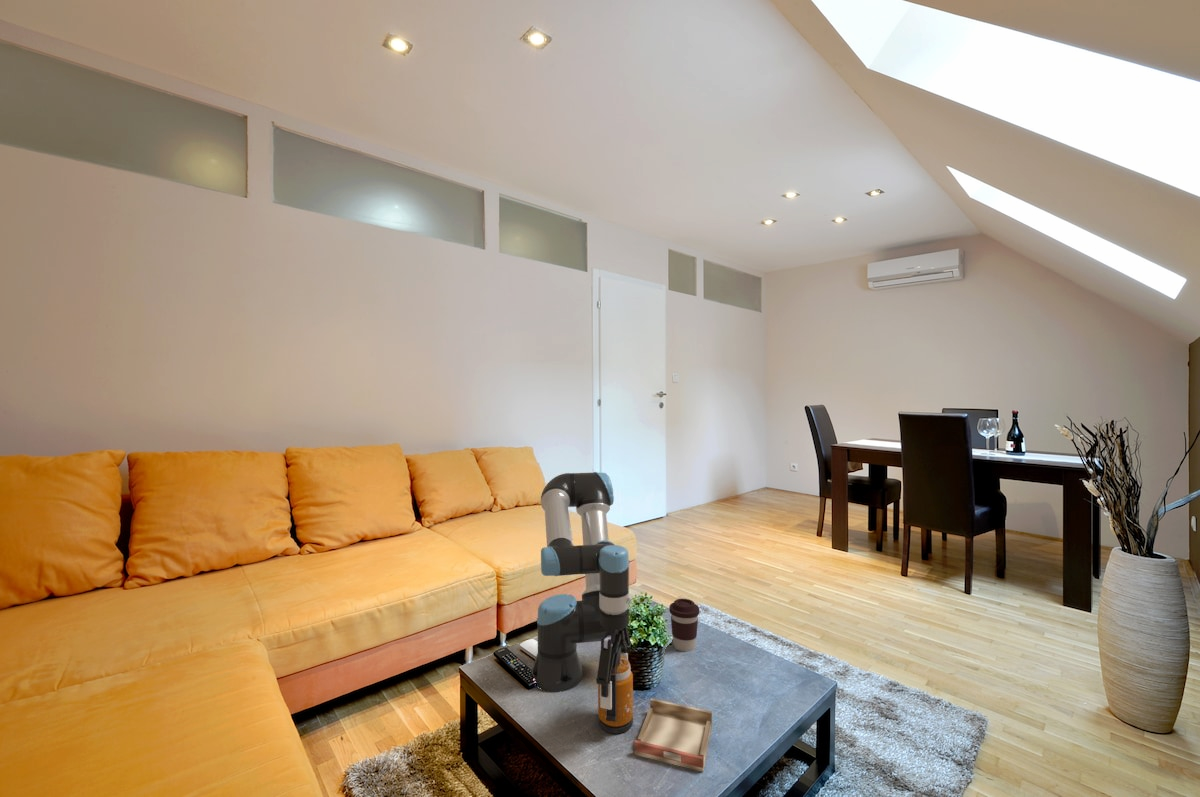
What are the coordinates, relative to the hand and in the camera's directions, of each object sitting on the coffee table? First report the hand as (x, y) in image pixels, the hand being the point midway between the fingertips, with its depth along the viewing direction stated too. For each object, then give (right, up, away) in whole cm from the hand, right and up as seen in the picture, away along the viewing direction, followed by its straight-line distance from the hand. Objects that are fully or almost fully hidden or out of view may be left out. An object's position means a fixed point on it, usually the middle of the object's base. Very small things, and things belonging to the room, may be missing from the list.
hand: (614, 691), depth 123 cm
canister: (0, -9, 0) cm, 9 cm away
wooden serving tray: (+15, -9, -5) cm, 18 cm away
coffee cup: (+25, -9, +39) cm, 47 cm away
